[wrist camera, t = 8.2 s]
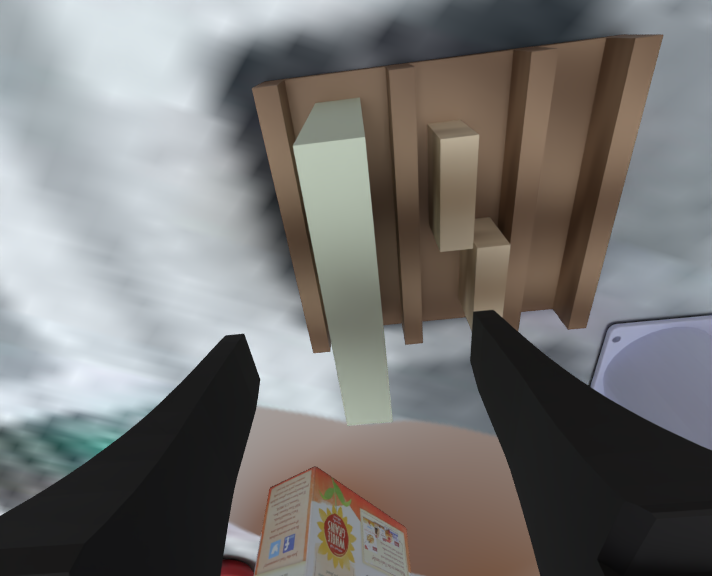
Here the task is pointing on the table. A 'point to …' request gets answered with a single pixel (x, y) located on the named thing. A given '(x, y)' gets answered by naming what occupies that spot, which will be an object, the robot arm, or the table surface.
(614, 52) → the rack
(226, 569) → the liquor
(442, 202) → the offcut
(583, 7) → the table surface
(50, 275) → the table surface
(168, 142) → the table surface
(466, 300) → the offcut
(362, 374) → the pale green slab
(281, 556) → the cracker box
